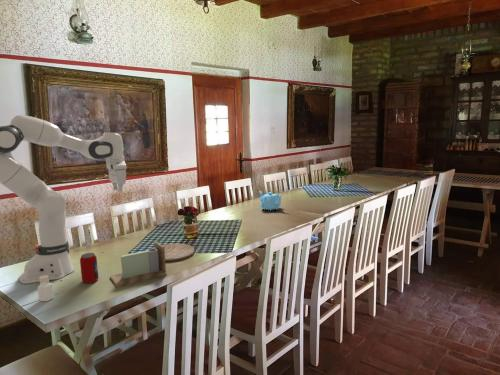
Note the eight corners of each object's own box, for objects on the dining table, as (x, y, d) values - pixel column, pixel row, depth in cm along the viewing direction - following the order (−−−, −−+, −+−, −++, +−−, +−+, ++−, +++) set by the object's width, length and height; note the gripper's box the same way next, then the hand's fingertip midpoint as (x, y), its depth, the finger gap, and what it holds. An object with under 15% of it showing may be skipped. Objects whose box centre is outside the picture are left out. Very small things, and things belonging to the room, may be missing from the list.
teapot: (259, 207, 302) (259, 190, 300) (283, 207, 300) (283, 190, 298) (257, 212, 287) (256, 194, 284) (283, 212, 284) (282, 194, 282)
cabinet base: (117, 287, 159) (114, 257, 157) (110, 277, 169) (107, 250, 167) (166, 275, 171) (165, 247, 168) (157, 266, 181) (156, 240, 178)
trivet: (201, 248, 207) (201, 245, 207) (181, 264, 183) (181, 261, 183) (161, 245, 214) (160, 242, 214) (136, 261, 190) (136, 257, 190)
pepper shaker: (47, 302, 147) (44, 279, 145) (38, 301, 148) (35, 278, 146) (54, 297, 151) (51, 275, 149) (45, 296, 151) (42, 274, 150)
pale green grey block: (124, 279, 164) (122, 257, 163) (122, 276, 168) (120, 255, 166) (159, 271, 173) (157, 250, 171) (156, 268, 176) (154, 248, 174)
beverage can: (101, 280, 166) (99, 254, 164) (86, 285, 162) (83, 258, 159) (94, 276, 171) (91, 251, 169) (79, 281, 166) (76, 255, 164)
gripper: (104, 163, 198) (106, 189, 200) (114, 166, 181) (116, 194, 183) (116, 162, 201) (119, 188, 204) (127, 165, 184) (129, 193, 187)
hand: (117, 191), depth 193 cm, fingers open, 8 cm apart
